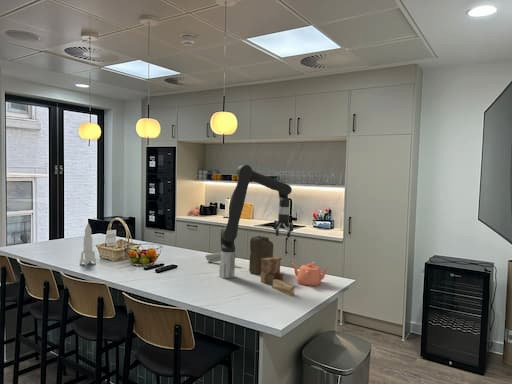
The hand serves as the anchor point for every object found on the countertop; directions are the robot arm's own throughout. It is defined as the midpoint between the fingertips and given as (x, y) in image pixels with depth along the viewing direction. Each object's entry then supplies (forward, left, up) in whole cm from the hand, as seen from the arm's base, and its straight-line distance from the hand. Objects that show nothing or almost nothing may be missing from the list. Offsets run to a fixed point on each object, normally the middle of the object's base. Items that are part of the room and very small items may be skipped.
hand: (282, 236), depth 258 cm
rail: (-23, -31, -26) cm, 46 cm away
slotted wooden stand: (-18, -14, -26) cm, 34 cm away
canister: (-10, +11, -26) cm, 30 cm away
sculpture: (-110, +84, -26) cm, 141 cm away
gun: (-25, +43, -26) cm, 56 cm away
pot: (+3, -25, -26) cm, 36 cm away
